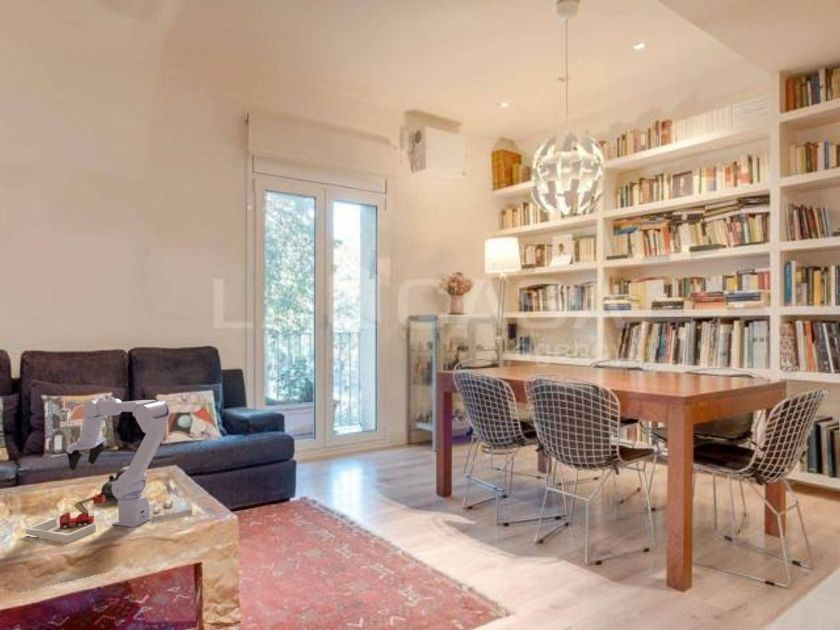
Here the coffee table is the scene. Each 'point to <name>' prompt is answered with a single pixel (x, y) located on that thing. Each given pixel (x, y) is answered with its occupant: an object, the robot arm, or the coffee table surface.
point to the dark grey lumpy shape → (108, 486)
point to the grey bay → (42, 532)
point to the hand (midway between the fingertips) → (81, 465)
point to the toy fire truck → (84, 516)
